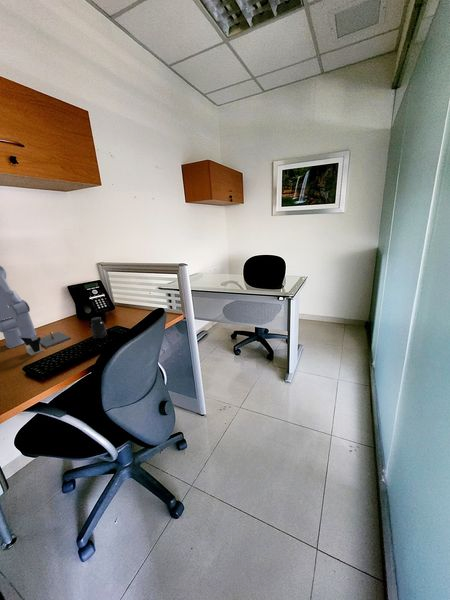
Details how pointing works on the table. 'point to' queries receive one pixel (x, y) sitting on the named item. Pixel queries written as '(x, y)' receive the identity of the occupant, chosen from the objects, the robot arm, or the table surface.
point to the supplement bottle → (98, 328)
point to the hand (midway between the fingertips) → (34, 349)
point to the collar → (30, 350)
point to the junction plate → (53, 339)
